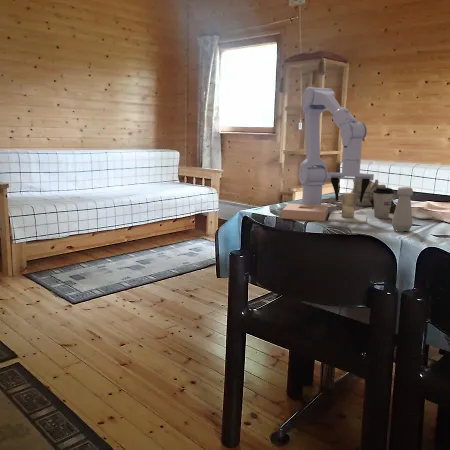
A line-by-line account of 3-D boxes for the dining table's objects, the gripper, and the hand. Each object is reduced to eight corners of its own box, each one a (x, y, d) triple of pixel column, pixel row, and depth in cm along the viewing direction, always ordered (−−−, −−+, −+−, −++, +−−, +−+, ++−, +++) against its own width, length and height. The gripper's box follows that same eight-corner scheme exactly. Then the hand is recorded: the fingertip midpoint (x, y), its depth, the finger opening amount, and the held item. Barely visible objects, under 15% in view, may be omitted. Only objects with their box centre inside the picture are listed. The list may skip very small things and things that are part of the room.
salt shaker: (388, 231, 137) (392, 187, 135) (393, 227, 142) (397, 185, 139) (409, 233, 134) (413, 188, 131) (413, 230, 139) (418, 187, 136)
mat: (330, 214, 163) (330, 213, 163) (366, 216, 159) (366, 215, 159) (328, 220, 152) (328, 219, 151) (366, 223, 148) (366, 221, 148)
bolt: (390, 218, 169) (374, 209, 183) (402, 211, 169) (385, 203, 183) (383, 204, 168) (368, 197, 182) (396, 197, 167) (379, 190, 182)
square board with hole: (288, 211, 168) (288, 203, 167) (327, 214, 164) (328, 205, 163) (282, 218, 155) (282, 209, 154) (324, 221, 151) (325, 212, 150)
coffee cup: (366, 216, 160) (368, 187, 158) (378, 214, 165) (380, 186, 163) (384, 219, 155) (387, 189, 153) (396, 217, 160) (398, 188, 158)
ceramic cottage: (346, 204, 186) (351, 166, 184) (347, 200, 202) (352, 165, 199) (386, 209, 182) (392, 171, 179) (385, 204, 198) (390, 169, 195)
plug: (341, 215, 158) (343, 192, 156) (353, 216, 157) (355, 193, 155) (341, 217, 154) (342, 193, 152) (353, 218, 153) (355, 194, 151)
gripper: (328, 159, 150) (325, 201, 153) (375, 161, 146) (371, 204, 148) (329, 158, 156) (327, 198, 159) (374, 160, 152) (371, 201, 155)
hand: (348, 201), depth 154 cm, fingers open, 7 cm apart
